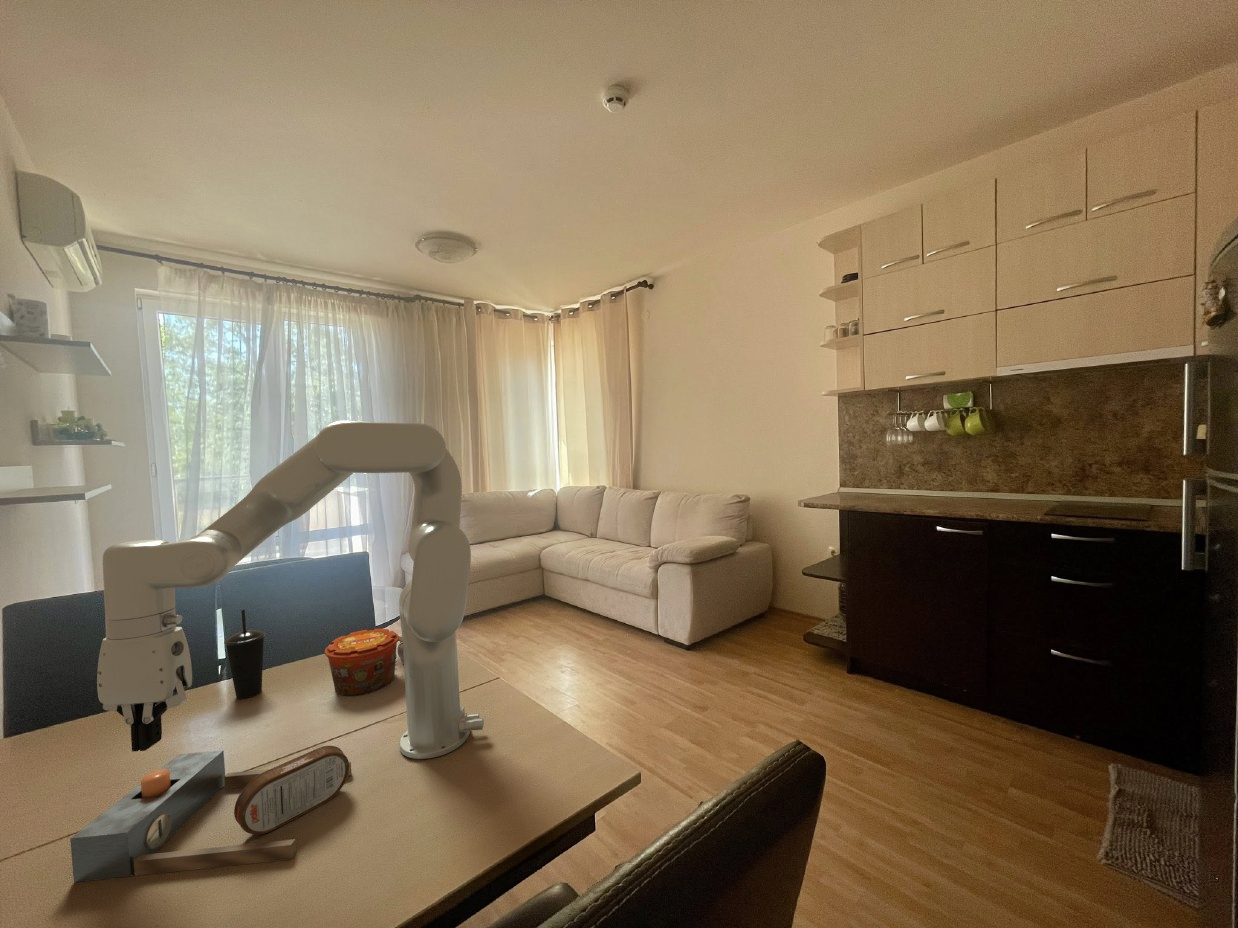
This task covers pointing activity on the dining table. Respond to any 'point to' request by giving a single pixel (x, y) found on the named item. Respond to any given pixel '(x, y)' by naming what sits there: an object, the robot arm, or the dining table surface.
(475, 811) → the dining table surface
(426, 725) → the robot arm
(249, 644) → the drinking cup
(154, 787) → the button
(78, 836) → the cabinet
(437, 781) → the dining table surface
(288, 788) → the tin
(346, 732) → the dining table surface
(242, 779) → the rail channel
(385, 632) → the food container
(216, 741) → the dining table surface
